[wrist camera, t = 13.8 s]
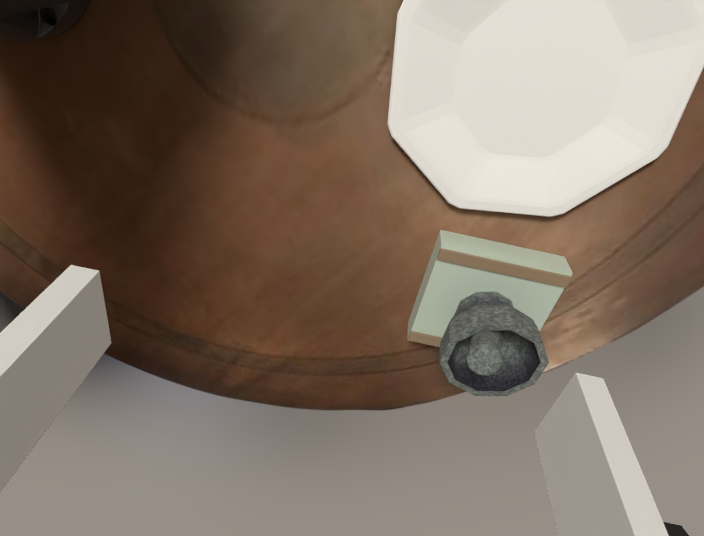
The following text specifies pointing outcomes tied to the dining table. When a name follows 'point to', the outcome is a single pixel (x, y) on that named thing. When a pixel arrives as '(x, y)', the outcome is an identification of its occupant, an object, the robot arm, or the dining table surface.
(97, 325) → the robot arm
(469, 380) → the mortar and pestle
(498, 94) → the plate
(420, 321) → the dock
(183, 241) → the dining table surface
